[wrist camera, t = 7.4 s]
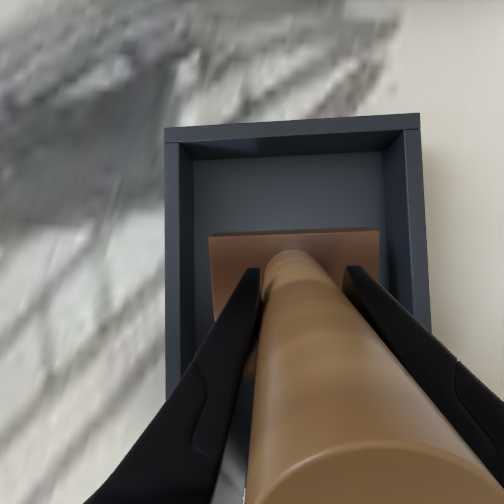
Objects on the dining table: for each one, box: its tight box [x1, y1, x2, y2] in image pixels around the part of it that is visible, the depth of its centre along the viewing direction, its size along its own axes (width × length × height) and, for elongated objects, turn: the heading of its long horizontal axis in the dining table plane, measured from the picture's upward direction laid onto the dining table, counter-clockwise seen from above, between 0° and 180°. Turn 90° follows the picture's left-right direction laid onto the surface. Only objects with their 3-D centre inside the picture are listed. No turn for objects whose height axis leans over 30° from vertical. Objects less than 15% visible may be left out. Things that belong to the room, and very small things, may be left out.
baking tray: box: [164, 113, 432, 488], centre depth 15 cm, size 18×13×3 cm
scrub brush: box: [208, 227, 504, 504], centre depth 9 cm, size 4×8×13 cm, turn 92°
